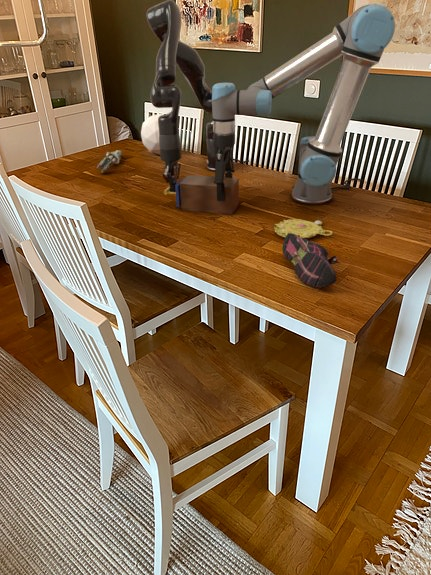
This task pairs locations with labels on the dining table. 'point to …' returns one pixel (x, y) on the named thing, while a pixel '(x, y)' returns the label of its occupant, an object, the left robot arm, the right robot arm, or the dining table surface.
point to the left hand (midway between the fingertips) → (173, 192)
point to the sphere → (151, 134)
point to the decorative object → (300, 228)
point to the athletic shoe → (309, 261)
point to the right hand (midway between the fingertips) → (224, 195)
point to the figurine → (110, 160)
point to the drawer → (177, 189)
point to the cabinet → (208, 195)
